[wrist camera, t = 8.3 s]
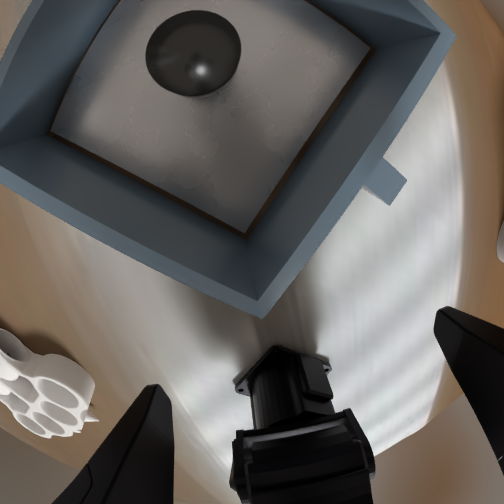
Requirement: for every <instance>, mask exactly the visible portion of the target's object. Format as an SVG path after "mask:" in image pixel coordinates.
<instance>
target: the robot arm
mask: <svg viewBox="0 0 504 504" xmlns="http://www.w3.org/2000/svg"><path fill="white" fill-rule="evenodd" d="M434 334H435V337H436V339H437V341H438V343H439V345H440V347H441V349H442V351H443V354H444V356H445V358H446V360H447V362H448V365H449V367H450V369H451V371H452V373H453V374H454V376H455V378H456V380H457V381H458V383H459V385H460V387H461V388H462V390H463V392H464V394H465V396H466V397H467V399H468V401H469V403H470V405H471V407H472V408H473V410H474V412H475V414H476V416H477V418H478V420H479V422H480V424H481V426H482V428H483V430H484V432H485V434H486V436H487V438H488V441H489V443H490V445H491V447H492V449H493V451H494V454H495V455H496V458H497V460H498V463H499V465H500V467H501V470H502V472H503V475H504V329H503V328H501V327H499V326H496V325H494V324H491V323H489V322H487V321H484V320H482V319H479V318H477V317H474V316H472V315H469V314H467V313H465V312H462V311H460V310H457V309H455V308H452V307H450V306H446V307H443V308H441V309H439V310H438V311H437V313H436V318H435V323H434ZM275 351H277V352H275ZM331 370H332V368H331V365H330V364H328V363H326V362H323V361H321V360H318V359H315V358H312V357H310V356H307V355H304V354H301V353H297V352H295V351H292V350H289V349H287V348H284V347H281V346H278V345H276V346H272V347H271V348H270V349H269V350H268V351H267V352H266V354H265V355H264V356H263V357H262V358H261V359H260V360H259V361H258V362H257V363H256V364H255V366H254V367H253V368H252V369H251V370H250V371H249V372H248V373H247V374H246V375H245V376H244V377H243V378H242V379H241V381H240V382H239V383H238V384H237V385H236V386H235V391H236V392H237V393H239V394H243V395H246V396H250V399H251V408H252V417H253V426H254V429H252V430H245V431H244V430H236V439H234V441H233V442H232V449H233V463H232V468H231V474H230V480H229V484H230V488H232V489H233V490H235V491H236V492H237V494H238V496H239V498H240V500H241V503H242V504H373V499H372V493H371V484H370V480H371V479H373V478H374V477H375V460H374V455H373V452H372V448H371V446H370V443H369V441H368V439H367V438H366V436H365V434H364V432H363V430H362V428H361V427H360V425H359V423H358V421H357V419H356V418H355V416H354V414H353V412H352V410H351V409H350V408H348V409H345V410H343V411H341V412H338V413H335V411H334V408H333V405H332V402H331V399H333V392H332V390H331V387H330V384H329V381H328V378H327V374H328V373H329V372H330V371H331ZM173 488H174V433H173V419H172V405H171V401H170V399H169V397H168V396H167V394H166V393H165V391H164V390H163V389H162V387H161V386H160V385H159V384H152V385H147V386H146V387H145V388H144V389H143V390H142V392H141V393H140V394H139V396H138V397H137V398H136V399H135V401H134V402H133V403H132V405H131V406H130V407H129V409H128V410H127V411H126V413H125V414H124V415H123V416H122V418H121V419H120V420H119V422H118V423H117V424H116V426H115V427H114V428H113V430H112V431H111V432H110V433H109V435H108V436H107V437H106V439H105V440H104V441H103V443H102V444H101V445H100V447H99V448H98V449H97V450H96V452H95V453H94V454H93V456H92V457H91V458H90V460H89V461H88V463H87V464H86V465H85V466H84V467H83V469H82V470H81V471H80V473H79V474H78V475H77V476H76V478H75V479H74V480H73V481H72V482H71V483H70V485H69V486H68V487H67V488H66V489H65V490H64V491H63V492H62V493H61V494H60V495H59V496H58V497H57V498H56V500H55V501H54V502H53V503H52V504H173Z"/></svg>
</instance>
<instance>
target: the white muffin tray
mask: <svg viewBox="0 0 504 504" xmlns="http://www.w3.org/2000/svg"><path fill="white" fill-rule="evenodd" d="M7 354H9V356H8V355H7ZM94 388H95V384H94V381H93V379H92V377H91V376H90V375H89V373H88V372H87V371H86V370H85V369H84V368H82V367H81V366H80V365H79V364H77V363H76V362H74V361H72V360H71V359H69V358H67V357H64V356H61V355H58V354H46V355H44V356H42V355H39V354H36V353H33V352H32V351H30V350H29V349H28V348H27V347H26V346H24V345H23V344H22V343H21V341H20V340H19V339H18V338H16V337H15V336H14V335H13V334H11V333H10V332H8V331H6V330H4V329H1V328H0V401H1V402H2V403H4V404H5V405H6V406H7V407H8V408H9V409H10V410H11V411H12V413H13V415H14V417H15V418H16V420H17V421H18V422H19V423H20V424H21V425H23V426H24V427H25V428H27V429H28V430H30V431H31V432H33V433H35V434H37V435H39V436H42V437H45V438H51V436H52V435H58V436H62V437H66V436H72V435H73V432H78V433H81V432H80V430H81V429H82V427H83V424H84V422H85V421H99V420H98V419H97V418H96V417H95V416H94V415H93V414H92V413H91V412H90V411H89V410H88V407H89V404H90V401H91V398H92V394H93V391H94Z"/></svg>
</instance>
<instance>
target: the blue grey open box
mask: <svg viewBox="0 0 504 504" xmlns="http://www.w3.org/2000/svg"><path fill="white" fill-rule="evenodd" d="M118 1H119V0H32V2H31V4H30V5H29V7H28V9H27V10H26V12H25V14H24V15H23V17H22V19H21V21H20V23H19V24H18V26H17V28H16V30H15V32H14V34H13V36H12V38H11V40H10V42H9V44H8V46H7V48H6V50H5V53H4V55H3V57H2V59H1V62H0V183H1V184H3V185H4V186H6V187H7V188H9V189H11V190H12V191H14V192H15V193H17V194H19V195H20V196H22V197H24V198H25V199H27V200H29V201H30V202H32V203H34V204H35V205H37V206H39V207H40V208H42V209H44V210H45V211H47V212H49V213H51V214H52V215H54V216H56V217H57V218H59V219H61V220H63V221H64V222H66V223H68V224H70V225H72V226H73V227H75V228H77V229H79V230H81V231H82V232H84V233H86V234H88V235H90V236H91V237H93V238H95V239H97V240H99V241H101V242H103V243H104V244H106V245H108V246H110V247H112V248H114V249H116V250H118V251H120V252H121V253H123V254H125V255H127V256H129V257H131V258H133V259H135V260H137V261H139V262H141V263H143V264H145V265H147V266H149V267H151V268H153V269H155V270H157V271H159V272H161V273H163V274H165V275H167V276H169V277H171V278H173V279H175V280H177V281H179V282H181V283H183V284H185V285H188V286H190V287H192V288H194V289H196V290H198V291H200V292H202V293H205V294H207V295H209V296H211V297H213V298H215V299H218V300H220V301H222V302H224V303H226V304H229V305H231V306H233V307H235V308H238V309H240V310H242V311H244V312H247V313H249V314H251V315H253V316H256V317H258V318H260V319H263V318H264V317H265V316H266V314H267V313H268V312H269V311H270V309H271V308H272V307H273V306H274V304H275V303H276V302H277V301H278V299H279V298H280V297H281V296H282V294H283V293H284V292H285V290H286V289H287V288H288V287H289V285H290V284H291V283H292V281H293V280H294V279H295V278H296V276H297V275H298V274H299V272H300V271H301V270H302V268H303V267H304V266H305V264H306V263H307V262H308V260H309V259H310V258H311V257H312V255H313V254H314V253H315V251H316V250H317V248H318V247H319V246H320V244H321V243H322V242H323V240H324V239H325V238H326V236H327V235H328V234H329V232H330V231H331V230H332V228H333V227H334V225H335V224H336V223H337V221H338V220H339V219H340V217H341V216H342V214H343V213H344V212H345V210H346V209H347V207H348V206H349V205H350V203H351V202H352V200H353V199H354V197H355V196H356V195H357V193H358V192H359V190H360V189H361V188H363V189H364V190H366V191H368V192H369V193H371V194H372V195H374V196H375V197H377V198H378V199H380V200H381V201H383V202H384V203H386V204H387V205H389V206H390V205H391V203H392V202H393V200H394V199H395V197H396V196H397V195H398V193H399V192H400V190H401V189H402V187H403V186H404V184H405V183H406V181H407V179H406V178H405V177H404V176H402V175H401V174H400V173H399V172H398V171H397V170H396V169H395V168H394V167H393V166H392V165H391V164H389V163H388V162H387V161H386V160H385V159H384V158H383V155H384V154H385V152H386V151H387V149H388V148H389V146H390V145H391V143H392V142H393V140H394V139H395V137H396V136H397V134H398V133H399V131H400V129H401V128H402V126H403V125H404V123H405V122H406V120H407V119H408V117H409V115H410V114H411V112H412V111H413V109H414V108H415V106H416V104H417V103H418V101H419V100H420V98H421V96H422V95H423V93H424V91H425V90H426V88H427V87H428V85H429V83H430V82H431V80H432V78H433V77H434V75H435V73H436V72H437V70H438V68H439V66H440V65H441V63H442V61H443V60H444V58H445V56H446V54H447V53H448V51H449V49H450V47H451V46H452V44H453V42H454V40H455V38H456V37H457V36H456V34H455V33H454V32H453V31H452V30H451V29H450V28H449V27H448V25H447V24H446V23H445V22H444V21H443V20H442V19H441V18H440V17H439V16H438V15H437V14H436V13H435V12H434V11H433V10H432V9H431V8H430V7H429V6H428V5H427V4H426V3H425V2H424V1H423V0H308V1H310V2H312V3H313V4H315V5H316V6H318V7H319V8H321V9H322V10H324V11H325V12H327V13H328V14H330V15H331V16H333V17H334V18H335V19H337V20H338V21H340V22H341V23H342V24H344V25H345V26H346V27H348V28H349V29H350V30H352V31H353V32H354V33H356V34H357V35H358V36H359V37H361V38H362V39H363V40H364V41H366V42H367V43H368V44H369V45H371V46H372V47H373V48H374V49H375V52H374V53H373V55H372V56H371V58H370V59H369V60H368V62H367V63H366V65H365V66H364V68H363V69H362V70H361V72H360V73H359V75H358V76H357V78H356V79H355V81H354V82H353V83H352V85H351V86H350V88H349V89H348V91H347V92H346V94H345V95H344V96H343V98H342V99H341V101H340V102H339V104H338V105H337V107H336V108H335V110H334V111H333V112H332V114H331V115H330V117H329V118H328V120H327V121H326V123H325V124H324V126H323V127H322V128H321V130H320V131H319V133H318V134H317V136H316V137H315V139H314V140H313V142H312V143H311V145H310V146H309V148H308V149H307V151H306V152H305V153H304V155H303V156H302V158H301V159H300V161H299V162H298V164H297V165H296V167H295V168H294V170H293V171H292V173H291V174H290V176H289V177H288V179H287V180H286V182H285V183H284V185H283V186H282V188H281V189H280V190H279V192H278V193H277V195H276V196H275V198H274V199H273V201H272V202H271V204H270V205H269V207H268V208H267V210H266V211H265V213H264V214H263V216H262V217H261V219H260V220H259V222H258V223H257V225H256V226H255V228H254V229H253V231H252V232H251V234H250V235H249V237H248V238H247V240H246V239H244V238H243V237H241V236H239V235H237V234H235V233H233V232H231V231H230V230H228V229H226V228H224V227H222V226H220V225H218V224H216V223H215V222H213V221H211V220H209V219H207V218H205V217H203V216H201V215H200V214H198V213H196V212H194V211H192V210H190V209H188V208H186V207H185V206H183V205H181V204H179V203H177V202H175V201H173V200H171V199H169V198H168V197H166V196H164V195H162V194H160V193H158V192H156V191H154V190H152V189H151V188H149V187H147V186H145V185H143V184H141V183H139V182H137V181H135V180H133V179H132V178H130V177H128V176H126V175H124V174H122V173H120V172H118V171H116V170H114V169H113V168H111V167H109V166H107V165H105V164H103V163H101V162H99V161H97V160H95V159H93V158H91V157H90V156H88V155H86V154H84V153H82V152H80V151H78V150H76V149H74V148H72V147H70V146H68V145H66V144H64V143H63V142H61V141H59V140H57V139H55V138H53V137H51V136H49V135H47V134H48V132H49V129H50V126H51V124H52V121H53V119H54V116H55V114H56V111H57V109H58V107H59V104H60V102H61V100H62V98H63V95H64V93H65V91H66V89H67V87H68V85H69V83H70V80H71V78H72V76H73V74H74V72H75V71H76V69H77V67H78V65H79V63H80V61H81V59H82V57H83V56H84V54H85V52H86V50H87V48H88V47H89V45H90V43H91V42H92V40H93V38H94V37H95V35H96V33H97V32H98V30H99V29H100V27H101V25H102V24H103V22H104V21H105V19H106V18H107V16H108V15H109V13H110V12H111V10H112V9H113V8H114V6H115V5H116V3H117V2H118Z"/></svg>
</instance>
